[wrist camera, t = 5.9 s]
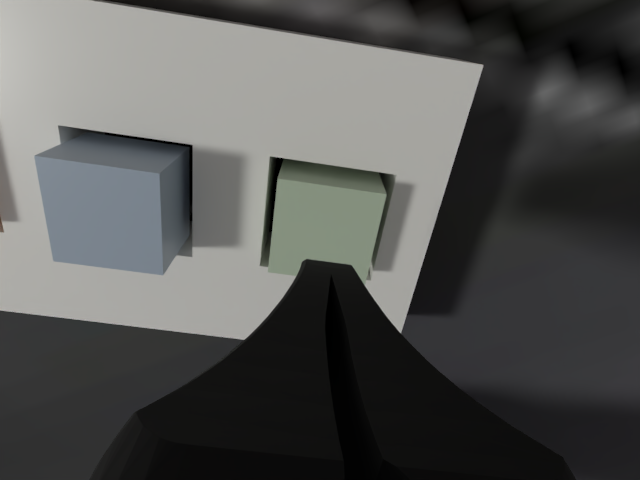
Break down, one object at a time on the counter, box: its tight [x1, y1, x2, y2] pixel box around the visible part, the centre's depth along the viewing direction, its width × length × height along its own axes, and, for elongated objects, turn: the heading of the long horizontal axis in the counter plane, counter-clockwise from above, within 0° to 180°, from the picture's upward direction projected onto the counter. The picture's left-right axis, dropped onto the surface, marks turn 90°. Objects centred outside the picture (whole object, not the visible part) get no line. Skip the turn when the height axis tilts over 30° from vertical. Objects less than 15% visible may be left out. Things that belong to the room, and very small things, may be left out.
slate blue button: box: [34, 132, 190, 275], centre depth 14 cm, size 4×4×3 cm
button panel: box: [0, 0, 483, 340], centre depth 16 cm, size 22×12×3 cm, turn 82°
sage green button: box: [268, 158, 387, 285], centre depth 15 cm, size 4×4×3 cm
